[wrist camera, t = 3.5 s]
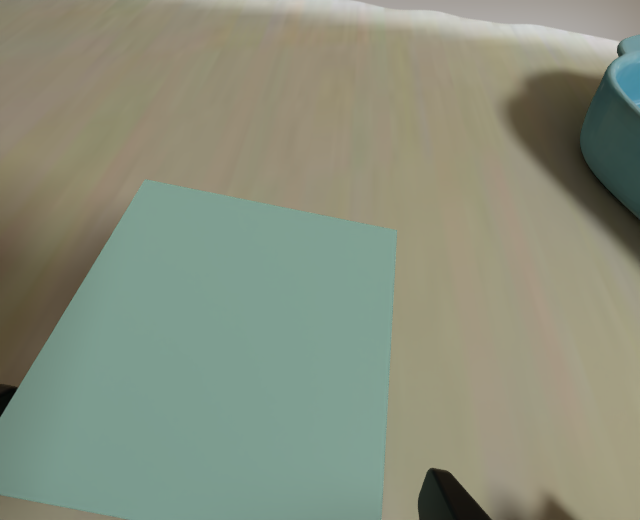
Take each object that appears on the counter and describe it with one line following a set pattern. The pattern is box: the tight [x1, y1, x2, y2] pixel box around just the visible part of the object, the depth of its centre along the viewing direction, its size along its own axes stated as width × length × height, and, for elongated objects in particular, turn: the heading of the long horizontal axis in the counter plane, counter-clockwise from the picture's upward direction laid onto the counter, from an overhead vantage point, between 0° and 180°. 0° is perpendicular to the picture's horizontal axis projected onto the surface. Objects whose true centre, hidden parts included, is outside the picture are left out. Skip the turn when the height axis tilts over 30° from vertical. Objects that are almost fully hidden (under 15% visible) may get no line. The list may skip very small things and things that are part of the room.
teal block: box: [0, 179, 397, 520], centre depth 11 cm, size 6×6×12 cm
